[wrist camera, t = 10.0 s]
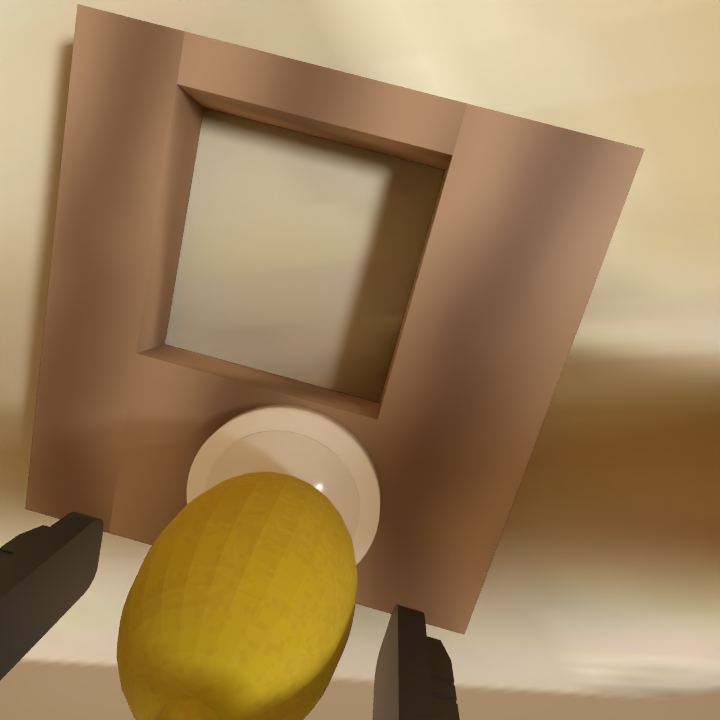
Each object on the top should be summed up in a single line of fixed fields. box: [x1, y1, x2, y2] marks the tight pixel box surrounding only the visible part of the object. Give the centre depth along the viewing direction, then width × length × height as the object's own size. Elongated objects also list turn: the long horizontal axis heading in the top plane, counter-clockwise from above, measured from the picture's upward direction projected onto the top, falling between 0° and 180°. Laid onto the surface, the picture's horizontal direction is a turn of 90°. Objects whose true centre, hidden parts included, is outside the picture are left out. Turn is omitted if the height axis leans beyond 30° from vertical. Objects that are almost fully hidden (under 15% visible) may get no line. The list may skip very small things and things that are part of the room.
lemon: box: [117, 472, 357, 720], centre depth 12 cm, size 6×6×8 cm
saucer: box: [187, 404, 381, 565], centre depth 16 cm, size 7×7×1 cm
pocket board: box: [25, 4, 644, 634], centre depth 16 cm, size 18×18×2 cm
